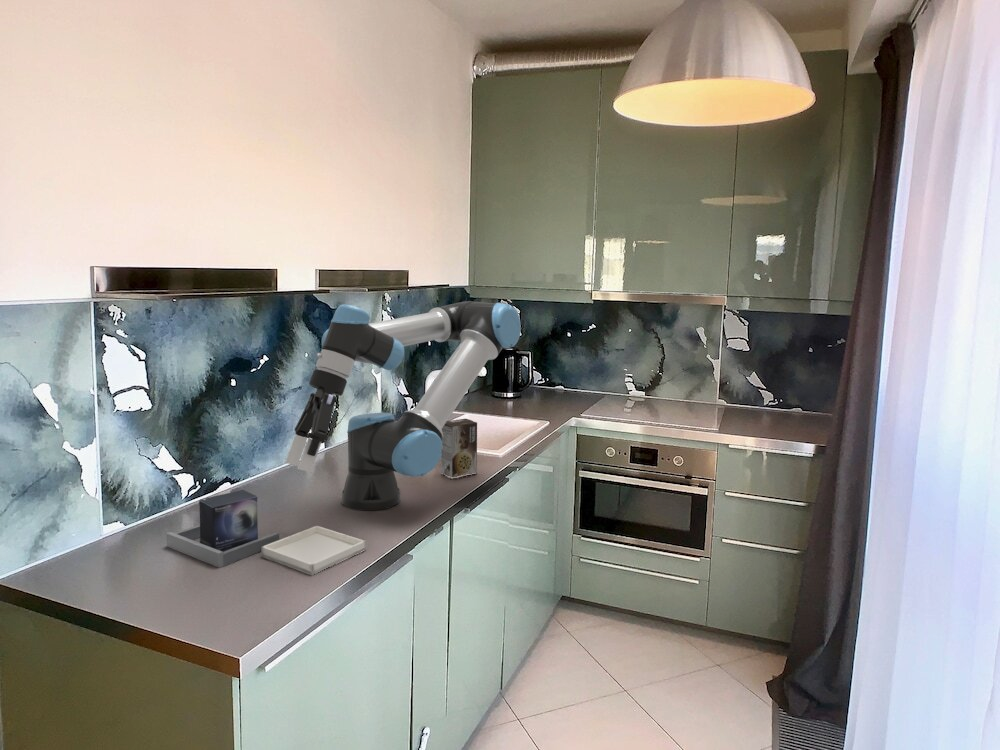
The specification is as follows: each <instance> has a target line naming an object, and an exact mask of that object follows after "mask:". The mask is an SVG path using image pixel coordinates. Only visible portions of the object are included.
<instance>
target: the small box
mask: <svg viewBox="0 0 1000 750" xmlns="http://www.w3.org/2000/svg"><path fill="white" fill-rule="evenodd" d="M198 503H199V525H200V538H199V543H201V544H204V545H206V546H209V547H211V548H214V549H217V550H219V551H222V552H224V551H227V550H230V549H232V548H235V547H238V546H241V545H243V544H246V543H249V542H251V541H254V540H257V539H259V536H258V535H259V533H258V532H259V530H258V528H259V527H258V526H259V525H258V523H259V522H258V521H259V520H258V519H259V518H258V496H257V495H255V494H253V493H251V492H249V491H247V490H244V489H241V490H237V491H236V490H235V491H232V492H227V493H223V494H219V495H218V494H217V495H216V496H210V497H206V498H201V499H199V500H198Z"/></svg>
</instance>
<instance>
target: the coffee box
mask: <svg viewBox="0 0 1000 750" xmlns="http://www.w3.org/2000/svg"><path fill="white" fill-rule="evenodd" d="M442 433H443V439H442V440H441V442H442V450H441V453H442V455H441V458H440V474H441V473H443V474H445V475H447V476H450V477H457V476H461V475H466V474H472V473H478V422H477V421H474V420H472V419H469V418H459V419H453V420H447V422H446V423H445V425H444V426H443V428H442Z"/></svg>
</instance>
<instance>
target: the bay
mask: <svg viewBox="0 0 1000 750" xmlns="http://www.w3.org/2000/svg"><path fill="white" fill-rule="evenodd" d="M165 535H166V547H167V548H170V549H172V550H174V551H177V552H180V553H182V554H185V555H187V556H190V557H192V558H195V559H197V560H199V561H201V562H203V563H206V564H209V565H212V566H214V567H215V568H222V567H224V566H225V567H226V566H227V565H230V564H232V563H235V562H238V561H240V560H242V559H245V558H248V557H251V556H253V555H255V554H258V553H261V547H262V546H265V545H268V544H270V543H273V542H275V541H278V540H280V533H279V532H272V533H270V534H268V535H265V536H262V537H260V538H259V537H258V539H257V540H254V541H251V542H249V543H246V544H243V545H241V546H237V547H234V548H230V549H227V550H223V551H219V550H217V549H214V548H211V547H209V546H206V545H204V544H201V543H200V542H198V541H195V540H196V539H200V524H198V525H195V526H192V527H189V528H186V529H183V530H179V531H177V532H176V531H175V532H172V531H170V532H166V534H165Z"/></svg>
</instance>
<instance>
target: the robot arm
mask: <svg viewBox="0 0 1000 750" xmlns="http://www.w3.org/2000/svg"><path fill="white" fill-rule="evenodd" d="M370 319H371V315H370V314H369V312H367V311H366V310H365V309H362V308H360V307H358V306H355V305H351V304H340V305H339V306H338V307H337V308H336V311H335V312H334V314H333V316H332V319H331V320H330V324H329V327H328V329H326V331H324V332H323V335H322V337H321V351H320V352H317V353H316V357H318V359H317V361H316V363H315V367H316V368H317V369H314V370H313V372H312V374H311V377H310V379H309V383H308V384H309V386H310V387H312V388H314V389H316V392H311V393H310V395H309V397H308V398H309V399H308V401H307V403H306V405H305V407H304V409H303V411H302V414H301V415H300V418H299V419H298V421H297V424H296V426H295V427H294V432H295V433H294V437H293V439H292V442H291V445H290V448H289V451H288V452H287V456H286V458H285V461H284V463H285V464H288V465H291V466H295V467H297V468H296V469H297V470H299V471H303V472H307V473H312V469H313V467H314V466H315V463H316V458H317V456H318V453H319V451H320V449H321V448H320V447H321V445H322V442H323V441H324V440H326V439H327V438H328V432H329V428H330V424H331V419H332V416H333V411H334V407H335V404H336V401H337V396H343V394H344V392H345V389H346V386H347V383H348V382H347V378H350V376H351V373H352V371H353V370H352V369H353V367H354V364H355V362H359V363H365V364H370V365H374V366H377V368H379V369H384V370H386V371H392V370H395V369H396V368H398V367H399V366H400V364H402V361H403V358H404V356H405V347H408V346H412V345H417V344H422V343H426V342H430V341H435V342H437V343H443V342H450V341H451V342H460V343H459V344H458V345H457V347H456V349H455V350H454V352H453V353H452V354H451V356H450V357H449V359H448V360H447V362H446V363H445V364H444V366H443V367H442V368H441V370H440V372H439V373H438V374H437V376H436V377H435V378H434V380H433V381H432V383H431V384H430V386H429V387H428V388H427V390H426V391H425V393H424V394H423V396H422V397H421V398H420V399H419V402H418V403H417V404H416V405H415V407H414V408H413V409H411V410H405V411H404V412H403V414H401V417H400V418H398V420H397V422H395V420H396V419H395V416H394V414H393V413H391V412H373V413H372V412H370V413H365V414H364V413H363V414H359V415H354V416H352V417H350V419H348V423H347V424H348V425H347V431H346V432H347V450H348V451H347V455H348V457H347V458H348V459H347V463H348V464H347V465H348V466H347V468H348V469H347V470H348V471H347V476H346V479H345V482H344V487H343V489H342V491H341V504H342V505H343V506H344V507H346V508H349V509H352V510H357V511H359V510H360V511H377V510H378V509H379V510H384V508H385V509H388V507H389V508H392V507H395V506H396V504H397V503H398V504H400V502H401V489H400V487H399V486H398V482H397V479H396V478H397V477H396V474H395V473H397V474H399V475H402V476H409V477H415V478H416V477H418V478H419V477H422V476H426V475H427V474H429V473H431V472H432V471H433V470H434V469H435V468H436V466H438V464H439V462H440V461H441V455H442V453H441V450H442V442H441V440H442V439H443V433H442V428H443V426H444V425H445V423H446V422H447V421H449V419H450V418H451V416H452V415H453V413H454V411H455V410H456V408H457V407H458V406H459V404H460V402H461V401H462V399H463V398H464V396H465V395H466V394H467V392H468V391H469V389H470V387H471V386H472V384H473V383H474V381H475V380H476V379H477V377H478V376H479V374H480V373H481V371H482V370H483V368H484V367H485V365H486V363H487V362H488V361H491V360H492V361H493V360H495V359H496V358H497V357H498V356H499V354H500V353H501V351H502V350H503V349H509V348H513V347H515V345H517V343H518V341H519V340H520V336H521V331H522V330H521V329H522V327H521V325H522V324H521V319H520V315H519V313H518V311H517V309H515V307H514V306H513V305H510V304H509V303H508V304H507V303H503V302H496V303H494V302H483V301H474V300H473V301H471V300H468V301H461V302H456V303H455V302H454V303H452V304H446V305H442V306H438V307H433V308H431V309H430V310H429V311H428V312H426V313H420V314H415V315H409V316H403V317H398V318H397V317H396V318H392V319H388V320H382V321H376V322H370ZM310 431H311V432H310ZM398 504H397V505H398ZM394 505H395V506H394ZM391 506H392V507H391ZM379 510H378V511H379Z"/></svg>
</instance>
